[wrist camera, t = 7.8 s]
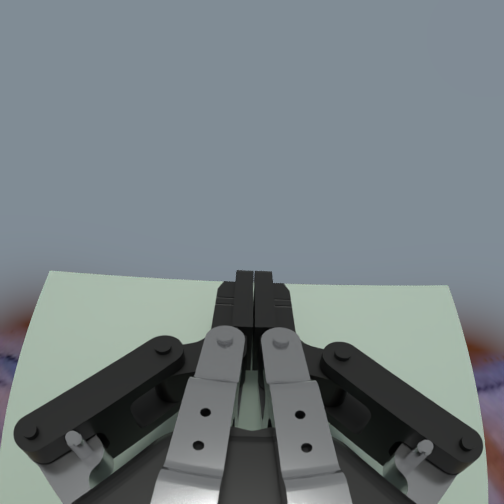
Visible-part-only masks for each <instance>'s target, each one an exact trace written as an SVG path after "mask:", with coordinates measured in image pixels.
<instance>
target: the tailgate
mask: <svg viewBox="0 0 504 504" xmlns="http://www.w3.org/2000/svg"><path fill="white" fill-rule="evenodd" d="M222 283H223V282H220V281H198V280H178V279H159V278H142V277H128V276H113V275H99V274H85V273H73V272H60V271H50V272H49V274H48V277H47V279H46V282H45V284H44V287H43V290H42V292H41V294H40V297H39V300H38V302H37V305H36V308H35V310H34V313H33V316H32V319H31V322H30V325H29V328H28V331H27V334H26V337H25V340H24V343H23V347H22V350H21V353H20V357H19V361H18V364H17V368H16V372H15V376H14V380H13V384H12V388H11V392H10V397H9V401H8V406H7V411H6V417H5V422H4V428H3V434H2V441H1V448H0V504H63V503H62V502H61V500H60V499H59V497H58V496H57V494H56V493H55V491H54V490H53V488H52V487H51V485H50V484H49V482H48V481H47V479H46V477H45V476H44V474H43V472H42V471H41V469H40V467H38V466H37V465H36V464H35V463H34V462H33V461H32V460H31V459H30V458H29V457H28V455H27V454H26V453H25V452H24V451H23V450H21V449H20V448H19V447H18V446H17V444H16V442H15V440H14V436H13V431H14V427H15V425H16V423H17V422H18V421H19V420H20V419H21V418H22V417H24V416H26V415H27V414H29V413H31V412H32V411H34V410H36V409H37V408H39V407H41V406H42V405H44V404H46V403H47V402H49V401H51V400H52V399H54V398H56V397H57V396H59V395H61V394H62V393H64V392H66V391H67V390H69V389H71V388H72V387H74V386H76V385H77V384H79V383H81V382H82V381H84V380H86V379H87V378H89V377H91V376H92V375H94V374H95V373H97V372H99V371H100V370H102V369H104V368H105V367H107V366H109V365H110V364H112V363H113V362H115V361H117V360H118V359H120V358H121V357H123V356H125V355H126V354H128V353H130V352H131V351H133V350H134V349H136V348H138V347H139V346H141V345H142V344H144V343H146V342H147V341H149V340H150V339H152V338H154V337H157V336H162V335H168V336H173V337H175V338H177V339H179V340H180V341H181V343H182V344H189V343H194V342H198V341H200V340H202V339H204V338H205V336H206V334H207V333H208V332H209V331H210V330H211V326H212V320H213V314H214V308H215V302H216V296H217V290H218V287H219V286H220V285H221V284H222ZM285 286H286V287H287V288H288V289H289V291H290V296H291V303H292V310H293V317H294V324H295V331H296V334H297V335H298V336H299V337H300V340H301V341H303V342H304V343H306V344H308V345H310V346H313V347H317V348H321V349H324V348H325V347H326V346H327V345H328V344H330V343H332V342H346V343H349V344H351V345H353V346H355V347H356V348H357V349H359V350H360V351H362V352H363V353H364V354H366V355H367V356H369V357H370V358H371V359H373V360H374V361H376V362H377V363H379V364H380V365H381V366H383V367H384V368H386V369H387V370H389V371H390V372H391V373H393V374H394V375H396V376H397V377H399V378H400V379H401V380H403V381H404V382H406V383H407V384H409V385H410V386H411V387H413V388H414V389H416V390H417V391H419V392H420V393H422V394H423V395H424V396H426V397H427V398H429V399H430V400H432V401H433V402H435V403H436V404H437V405H439V406H440V407H442V408H443V409H445V410H446V411H448V412H449V413H451V414H452V415H454V416H455V417H456V418H458V419H459V420H461V421H462V422H464V423H465V424H467V425H468V426H470V427H471V428H473V429H474V430H475V431H477V432H478V433H479V435H480V436H481V438H482V441H483V451H482V454H481V456H480V457H479V458H478V459H477V460H476V461H475V462H473V463H472V464H471V465H470V466H469V467H467V468H466V469H465V470H464V471H462V472H461V473H460V474H459V475H457V476H456V477H455V479H454V480H453V482H452V483H451V485H450V486H449V488H448V489H447V491H446V492H445V494H444V495H443V497H442V498H441V500H440V501H439V502H438V504H488V479H487V462H486V451H485V441H484V433H483V425H482V418H481V412H480V406H479V400H478V394H477V389H476V384H475V379H474V375H473V370H472V366H471V362H470V357H469V353H468V349H467V346H466V342H465V338H464V335H463V331H462V327H461V324H460V321H459V317H458V314H457V311H456V308H455V305H454V301H453V298H452V295H451V292H450V289H449V287H448V285H444V286H369V285H368V286H366V285H307V284H285ZM253 296H254V283H253ZM252 344H253V335H252ZM257 382H258V371H253V370H252V353H251V370H246V375H245V382H244V384H243V393H242V400H241V408H240V415H239V422H238V428H242V429H246V430H250V431H254V430H260V429H261V422H260V412H259V402H258V392H257ZM178 413H179V411H178V412H177V413H176V414H174V415H173V416H172V417H170V418H169V419H168V420H166V421H165V422H164V423H162V424H161V425H160V426H158V427H157V428H156V429H154V430H153V431H152V432H150V433H149V434H148V435H146V436H145V437H144V438H142V439H141V440H139V441H138V442H137V443H135V444H134V445H132V446H131V447H130V448H128V449H127V450H125V451H124V452H123V453H121V454H120V455H118V456H117V457H115V458H114V459H113V460H114V468H113V471H112V473H114V472H115V471H116V470H118V469H119V468H120V467H122V466H123V465H124V464H126V463H127V462H128V461H130V460H131V459H132V458H133V457H135V456H136V455H137V454H138V453H140V452H141V451H142V450H143V449H145V448H146V447H147V446H149V445H150V444H151V443H152V442H153V441H155V440H156V439H158V438H159V437H161V436H163V435H165V434H167V433H169V432H172V431H174V428H175V424H176V421H177V417H178ZM328 424H329V428H330V432H331V436H332V437H334V438H336V439H338V440H340V441H341V442H343V443H344V444H346V445H347V446H348V447H349V448H350V449H351V450H352V451H354V452H355V453H356V454H357V455H358V456H359V457H361V458H362V459H363V460H364V461H365V462H366V463H367V464H369V465H370V466H371V467H372V468H373V469H375V470H376V471H377V472H378V473H379V474H381V475H382V476H383V466H382V465H380V464H379V463H378V462H377V461H375V460H374V459H373V458H371V457H370V456H369V455H368V454H366V453H365V452H364V451H363V450H361V449H360V448H359V447H358V446H356V445H355V444H354V443H353V442H352V441H350V440H349V439H348V438H347V437H345V436H344V435H343V434H342V433H341V432H339V431H338V430H337V429H336V428H335V427H333V426H332V425H331V424H330V423H329V422H328ZM112 473H111V474H112ZM111 474H110V475H111Z"/></svg>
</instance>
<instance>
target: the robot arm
mask: <svg viewBox="0 0 504 504" xmlns="http://www.w3.org/2000/svg"><path fill="white" fill-rule="evenodd" d="M252 335H253V344H252ZM251 353H252V370H253V371H258V382H257V392H258V402H259V412H260V422H261V429H260V430H254V431H250V430H246V429H242V428H238V422H239V415H240V408H241V400H242V393H243V384H244V382H245V375H246V370H251ZM178 411H179V413H178V417H177V421H176V424H175V428H174V431H172V432H169V433H167V434H165V435H163V436H161V437H159V438H158V439H156V440H155V441H153V442H152V443H151V444H150V445H149V446H147V447H146V448H145V449H143V450H142V451H141V452H140V453H138V454H137V455H136V456H135V457H133V458H132V459H131V460H130V461H128V462H127V463H126V464H124V465H123V466H122V467H120V468H119V469H118V470H116V471H115V472H114V473H112V471H113V468H114V460H113V459H114V458H115V457H117V456H118V455H120V454H121V453H123V452H124V451H125V450H127V449H128V448H130V447H131V446H132V445H134V444H135V443H137V442H138V441H139V440H141V439H142V438H144V437H145V436H146V435H148V434H149V433H150V432H152V431H153V430H154V429H156V428H157V427H158V426H160V425H161V424H162V423H164V422H165V421H166V420H168V419H169V418H170V417H172V416H173V415H174V414H176V413H177V412H178ZM328 422H329V423H330V424H331V425H332V426H333V427H335V428H336V429H337V430H338V431H339V432H341V433H342V434H343V435H344V436H345V437H347V438H348V439H349V440H350V441H352V442H353V443H354V444H355V445H356V446H358V447H359V448H360V449H361V450H363V451H364V452H365V453H366V454H368V455H369V456H370V457H371V458H373V459H374V460H375V461H377V462H378V463H379V464H380V465H382V466H383V476H382V475H381V474H379V473H378V472H377V471H376V470H375V469H373V468H372V467H371V466H370V465H369V464H367V463H366V462H365V461H364V460H363V459H362V458H361V457H359V456H358V455H357V454H356V453H355V452H354V451H352V450H351V449H350V448H349V447H348V446H347V445H346V444H344V443H343V442H341V441H340V440H338V439H336V438H334V437H332V436H331V432H330V428H329V424H328ZM13 436H14V440H15V442H16V444H17V446H18V447H19V448H20V449H21V450H23V451H24V452H25V453H26V454H27V455H28V457H29V458H30V459H31V460H32V461H33V462H34V463H35V464H36V465H37V466H38V467H40V469H41V471H42V472H43V474H44V476H45V477H46V479H47V481H48V482H49V484H50V485H51V487H52V488H53V490H54V491H55V493H56V494H57V496H58V497H59V499H60V500H61V502H62V503H63V504H438V502H439V501H440V500H441V498H442V497H443V495H444V494H445V492H446V491H447V489H448V488H449V486H450V485H451V483H452V482H453V480H454V479H455V477H456V476H457V475H459V474H460V473H461V472H462V471H464V470H465V469H466V468H467V467H469V466H470V465H471V464H472V463H473V462H475V461H476V460H477V459H478V458H479V457H480V456H481V454H482V451H483V441H482V438H481V436H480V435H479V433H478V432H477V431H475V430H474V429H473V428H471V427H470V426H468V425H467V424H465V423H464V422H462V421H461V420H459V419H458V418H456V417H455V416H454V415H452V414H451V413H449V412H448V411H446V410H445V409H443V408H442V407H440V406H439V405H437V404H436V403H435V402H433V401H432V400H430V399H429V398H427V397H426V396H424V395H423V394H422V393H420V392H419V391H417V390H416V389H414V388H413V387H411V386H410V385H409V384H407V383H406V382H404V381H403V380H401V379H400V378H399V377H397V376H396V375H394V374H393V373H391V372H390V371H389V370H387V369H386V368H384V367H383V366H381V365H380V364H379V363H377V362H376V361H374V360H373V359H371V358H370V357H369V356H367V355H366V354H364V353H363V352H362V351H360V350H359V349H357V348H356V347H355V346H353V345H351V344H349V343H346V342H332V343H330V344H328V345H327V346H326V347H325V348H324V349H321V348H317V347H313V346H310V345H308V344H306V343H304V342H303V341H301V340H300V337H299V336H298V335H297V334H296V331H295V324H294V317H293V310H292V303H291V296H290V291H289V289H288V288H287V287H286V286H285V284H283V283H273V280H272V272H268V271H255V278H254V296H253V271H242V270H237V272H236V282H227V281H224V282H223V283H222V284H221V285H220V286H219V287H218V290H217V296H216V302H215V308H214V314H213V320H212V326H211V330H210V331H209V332H208V333H207V334H206V336H205V338H204V339H202V340H200V341H198V342H194V343H189V344H182V343H181V341H180V340H179V339H177V338H175V337H173V336H168V335H162V336H157V337H154V338H152V339H150V340H149V341H147V342H146V343H144V344H142V345H141V346H139V347H138V348H136V349H134V350H133V351H131V352H130V353H128V354H126V355H125V356H123V357H121V358H120V359H118V360H117V361H115V362H113V363H112V364H110V365H109V366H107V367H105V368H104V369H102V370H100V371H99V372H97V373H95V374H94V375H92V376H91V377H89V378H87V379H86V380H84V381H82V382H81V383H79V384H77V385H76V386H74V387H72V388H71V389H69V390H67V391H66V392H64V393H62V394H61V395H59V396H57V397H56V398H54V399H52V400H51V401H49V402H47V403H46V404H44V405H42V406H41V407H39V408H37V409H36V410H34V411H32V412H31V413H29V414H27V415H26V416H24V417H22V418H21V419H20V420H19V421H18V422H17V423H16V425H15V427H14V431H13ZM111 473H112V474H111ZM110 474H111V475H110Z"/></svg>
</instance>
